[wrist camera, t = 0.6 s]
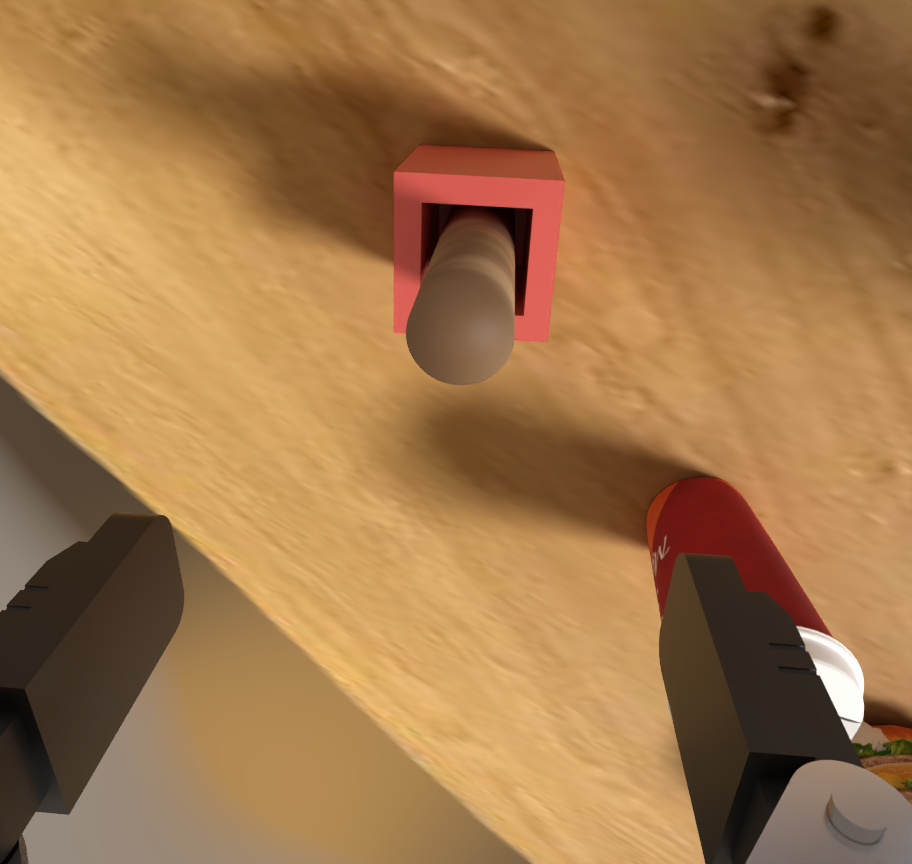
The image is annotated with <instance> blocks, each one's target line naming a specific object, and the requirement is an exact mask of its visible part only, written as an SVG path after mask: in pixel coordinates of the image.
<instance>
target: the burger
mask: <svg viewBox="0 0 912 864" xmlns="http://www.w3.org/2000/svg"><path fill="white" fill-rule="evenodd" d="M851 742H852V744H853V746H854V748H855V750H856V752H857V754H858V756H859V758H860V761H861V763H862V765H863V767H864V768H865V769H866V770H868V771H870V772H872V773H874V774H875V775H877V776H879V777H880V778H882V779H883V780H885V781H886V782H888V783H889V784H890V785H891V786H893V787H894V788H895V789H896V790H897V791H898V792H900V793H901V794H902V795H903V796H904V797H905V798H906V799H907V801H908V802H909V803H910V804H911V805H912V729H910V728H905V727H900V726H896V725H877V726H870V725H869V724H867V723H866V722H864V721H862V723H861V725H860V727H859V728H858V730H857V732H856V733H855V735H854V736H853V738H852V739H851Z"/></svg>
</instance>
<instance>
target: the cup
mask: <svg viewBox="0 0 912 864" xmlns="http://www.w3.org/2000/svg"><path fill="white" fill-rule="evenodd" d="M564 182H565V180H564V178H563V175H562V172H561V169H560V166H559V164H558V161H557V158H556V155H555V152H554V151H543V150H524V149H504V148H485V147H466V146H447V145H428V144H420V145H419V146H418V147H417V148H416V149H415V150H414V151H413V152H412V153H411V154H410V155H409V156H408V157H407V158H406V159H405V160H404V162H403V163H402V164H401V165H400V166H399V167H398V168H397V169H396V170H395V171H394V332H395V333H406V325H407V321H408V317H409V315H410V312H411V309H412V307H413V304H414V302H415V299H416V297H417V294H418V292H419V289H420V286H421V284H422V281H423V279H424V276H425V274H426V271H427V269H428V266H429V264H430V261H431V259H432V256H433V253H434V251H435V248H436V246H437V243H438V241H439V238H440V236H441V233H442V231H443V228H444V226H445V223H446V220H447V218H448V215H449V213H450V210H451V208H452V205H453V204H459V205H477V206H495V207H513V208H514V212H515V335H514V340H519V341H535V342H548V333H549V323H550V314H551V304H552V295H553V286H554V276H555V267H556V257H557V248H558V239H559V229H560V220H561V211H562V201H563V192H564Z"/></svg>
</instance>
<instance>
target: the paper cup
mask: <svg viewBox="0 0 912 864" xmlns="http://www.w3.org/2000/svg"><path fill="white" fill-rule="evenodd" d="M646 526H647V536H648V543H649V550H650V556H651V563H652V569H653V575H654V581H655V587H656V593H657V599H658V605H659V611H660V617H661V623H662V619H663V614H664V610H665V605H666V600H667V596H668V591H669V587H670V582H671V577H672V573H673V568H674V564H675V560H676V558H677V556H678V554H679V553H692V554H707V555H721V556H730V557H731V558H732V559H733V560H734V562H735V565H736V567H737V569H738V572H739V574H740V577H741V579H742V581H743V584H744V586H745V588H746V591H754V592H766V593H767V594H769V595H770V596H771V597H772V598H773V599H774V600H775V601H776V602H777V603H778V604H779V605H780V606H781V607H782V608H783V609H784V610H785V611H786V612H787V613H788V614H789V615H790V616H791V617H792V618H793V621H794V623H795V625H796V627H797V629H798V631H799V633H800V635H801V637H802V639H803V641H804V644H805V650H806V651H808V652H809V654H810V656H811V658H812V660H813V662H814V664H815V667H816V669H817V675H820V677H821V679H822V681H823V683H824V685H825V687H826V690H827V692H828V694H829V696H830V698H831V700H832V702H833V704H834V706H835V708H836V710H837V712H838V715H839V717H840V719H841V721H842V723H843V725H844V727H845V729H846V731H847V733H848V735H849V738H850V740H851V739H852V738H853V736H854V735H855V733H856V732H857V730H858V728H859V727H860V725H861V723H862V720H863V715H864V702H863V691H864V679H863V673H862V670H861V668H860V666H859V663H858V661H857V660H856V658H855V657H854V656H853V654H852V653H851V652H850V651H849V650H848V649H847V648H846V647H845V646H844V645H843V644H842V643H840V642H839V641H837V640H836V639H834V638H833V637H832V635H831V633H830V632H829V630H828V629H827V627H826V626H825V624H824V622H823V621H822V619H821V618H820V616H819V614H818V613H817V611H816V610H815V608H814V606H813V605H812V603H811V602H810V600H809V598H808V597H807V595H806V594H805V592H804V591H803V589H802V587H801V586H800V584H799V583H798V581H797V579H796V578H795V576H794V575H793V573H792V571H791V570H790V568H789V567H788V565H787V563H786V562H785V560H784V559H783V557H782V556H781V554H780V552H779V551H778V549H777V548H776V546H775V545H774V543H773V541H772V540H771V538H770V537H769V535H768V534H767V532H766V530H765V529H764V527H763V526H762V524H761V523H760V521H759V520H758V518H757V516H756V515H755V513H754V512H753V510H752V509H751V508H750V506H749V505H748V503H747V502H746V500H745V499H744V498H743V496H742V495H741V494H740V493H739V492H738V491H737V490H736V489H735V488H734V487H733V486H732V485H730V484H729V483H727V482H725V481H722V480H720V479H717V478H712V477H691V478H686V479H683V480H680V481H677V482H675V483H673V484H671V485H669V486H668V487H666V488H665V489H663V490H662V491H661V492H660V493H659V494H658V495H657V496H656V497H655V499H654V500H653V501H652V503H651V505H650V507H649V510H648V513H647V520H646ZM667 699H668V698H667ZM668 708H669V712H670V715H671V711H670V706H669V702H668ZM671 718H672V715H671ZM672 720H673V719H672Z"/></svg>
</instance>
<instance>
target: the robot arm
mask: <svg viewBox="0 0 912 864" xmlns="http://www.w3.org/2000/svg"><path fill="white" fill-rule="evenodd" d="M183 605H184V589H183V583H182V578H181V573H180V568H179V562H178V557H177V553H176V547H175V541H174V536H173V531H172V526H171V523H170V521H169V519H168V518H167V517H166V516H164V515H151V514H137V513H121V512H117V513H114V514H113V515H111V516H110V517H109V518H108V519H107V520H106V522H105V523H104V524H103V525H102V526H101V528H100V529H99V530H98V531H97V532H96V533H95V535H94V536H93V537H92V538H91V539H90V540H89V541H88V542H79V541H78V542H77V543H75V544H73V545H72V546H70V547H69V548H67V549H66V550H64V551H62V552H61V553H59V554H58V555H56V556H54V557H53V558H51V559H50V560H48V561H46V563H45V564H44V565H43V566H42V567H41V568H40V569H39V570H38V571H37V572H36V574H35V575H34V576H33V577H32V578H31V579H30V580H29V581H28V582H27V583H26V585H25V589H24V590H20V591H19V592H18V593H17V594H16V596H15V597H14V598H13V599H12V600H11V601H10V602H9V603H8V604H7V609H6V610H2V611H1V612H0V864H28V857H27V849H26V844H25V840H24V838H23V835H22V833H23V831H24V829H25V828H26V826H27V824H28V823H29V821H30V820H31V818H32V816H33V815H34V813H35V812H46V813H57V814H68V815H69V814H70V812H71V810H72V809H73V807H74V805H75V803H76V802H77V800H78V798H79V797H80V795H81V793H82V792H83V790H84V788H85V786H86V785H87V783H88V781H89V779H90V778H91V776H92V774H93V773H94V771H95V769H96V767H97V766H98V764H99V762H100V760H101V759H102V757H103V755H104V754H105V752H106V750H107V749H108V747H109V745H110V743H111V742H112V740H113V738H114V737H115V734H116V733H117V731H118V730H119V728H120V726H121V725H122V723H123V721H124V719H125V717H126V716H127V714H128V713H129V711H130V709H131V707H132V706H133V704H134V702H135V700H136V698H137V697H138V695H139V694H140V692H141V690H142V688H143V687H144V685H145V683H146V682H147V680H148V678H149V676H150V675H151V673H152V671H153V669H154V668H155V666H156V664H157V663H158V661H159V659H160V657H161V656H162V654H163V652H164V650H165V649H166V647H167V645H168V644H169V642H170V640H171V638H172V637H173V635H174V633H175V632H176V630H177V628H178V625H179V623H180V620H181V616H182V612H183ZM659 657H660V666H661V671H662V676H663V680H664V685H665V689H666V693H667V698H668V702H669V706H670V711H671V715H672V719H673V724H674V728H675V733H676V737H677V741H678V746H679V750H680V754H681V759H682V763H683V767H684V772H685V776H686V781H687V785H688V789H689V794H690V798H691V802H692V807H693V811H694V815H695V820H696V824H697V828H698V833H699V837H700V842H701V846H702V850H703V855H704V859H705V863H706V864H912V805H911V804H910V803H909V802H908V801H907V799H906V798H905V797H904V796H903V795H902V794H901V793H900V792H898V791H897V790H896V789H895V788H894V787H893V786H891V785H890V784H889V783H888V782H886V781H885V780H883V779H882V778H880V777H879V776H877V775H875V774H874V773H872V772H870V771H868V770H866V769H865V768H864V767H863V765H862V763H861V761H860V758H859V756H858V754H857V752H856V750H855V748H854V746H853V744H852V742H851V740H850V738H849V735H848V733H847V731H846V729H845V727H844V725H843V723H842V721H841V719H840V717H839V715H838V712H837V710H836V708H835V706H834V704H833V702H832V700H831V698H830V696H829V694H828V692H827V690H826V687H825V685H824V683H823V681H822V679H821V677H820V675H817V669H816V667H815V664H814V662H813V660H812V658H811V656H810V654H809V652H808V651H806V650H805V644H804V641H803V639H802V637H801V635H800V633H799V631H798V629H797V627H796V625H795V623H794V621H793V618H792V617H791V616H790V615H789V614H788V613H787V612H786V611H785V610H784V609H783V608H782V607H781V606H780V605H779V604H778V603H777V602H776V601H775V600H774V599H773V598H772V597H771V596H770V595H769V594H767V593H766V592H754V591H746V588H745V586H744V584H743V581H742V579H741V577H740V574H739V572H738V569H737V567H736V565H735V562H734V560H733V559H732V558H731V557H730V556H721V555H707V554H692V553H679V554H678V556H677V558H676V560H675V564H674V568H673V573H672V577H671V582H670V587H669V591H668V596H667V600H666V605H665V610H664V614H663V619H662V623H661V629H660V637H659Z"/></svg>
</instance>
